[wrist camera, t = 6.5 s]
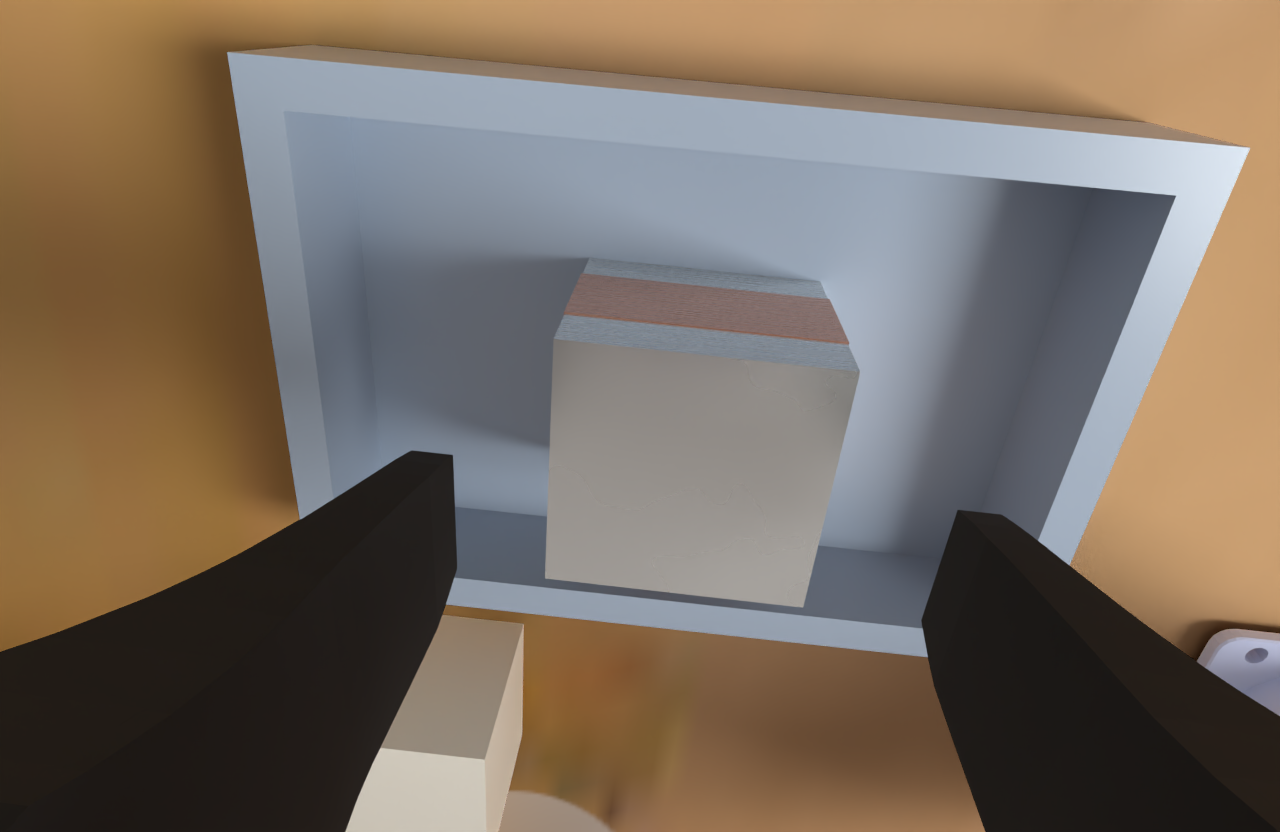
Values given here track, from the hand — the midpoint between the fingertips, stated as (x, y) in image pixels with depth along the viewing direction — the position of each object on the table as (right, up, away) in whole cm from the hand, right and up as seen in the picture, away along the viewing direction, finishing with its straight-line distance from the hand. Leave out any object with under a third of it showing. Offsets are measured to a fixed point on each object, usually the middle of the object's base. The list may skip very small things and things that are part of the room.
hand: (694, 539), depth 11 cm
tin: (0, +3, +6) cm, 7 cm away
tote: (0, +3, +6) cm, 7 cm away
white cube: (-6, -6, +11) cm, 14 cm away
